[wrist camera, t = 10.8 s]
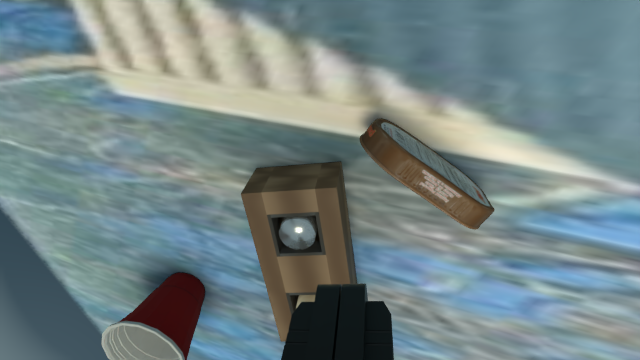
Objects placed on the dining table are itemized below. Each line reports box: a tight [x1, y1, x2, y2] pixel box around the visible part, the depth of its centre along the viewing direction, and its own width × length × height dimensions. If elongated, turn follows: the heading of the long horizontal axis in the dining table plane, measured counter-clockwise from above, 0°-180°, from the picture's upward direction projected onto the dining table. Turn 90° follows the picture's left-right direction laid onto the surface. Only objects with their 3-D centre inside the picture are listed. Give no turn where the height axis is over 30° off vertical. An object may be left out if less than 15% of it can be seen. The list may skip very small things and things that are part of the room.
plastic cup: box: [102, 273, 205, 360], centre depth 51 cm, size 11×11×12 cm
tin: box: [360, 119, 494, 229], centre depth 38 cm, size 15×3×8 cm, turn 56°
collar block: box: [241, 162, 357, 341], centre depth 47 cm, size 10×22×6 cm, turn 8°
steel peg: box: [279, 215, 318, 250], centre depth 44 cm, size 4×4×6 cm
